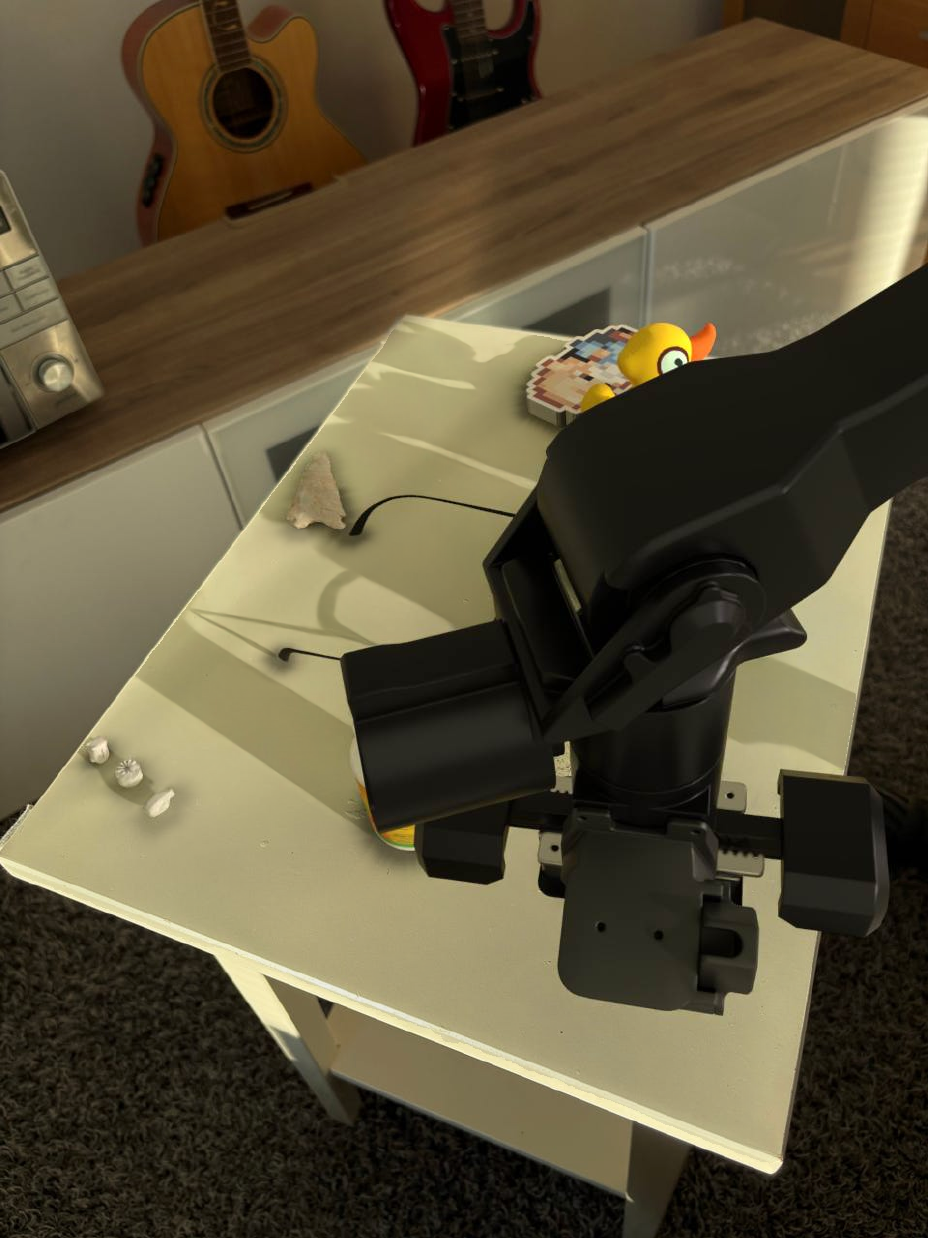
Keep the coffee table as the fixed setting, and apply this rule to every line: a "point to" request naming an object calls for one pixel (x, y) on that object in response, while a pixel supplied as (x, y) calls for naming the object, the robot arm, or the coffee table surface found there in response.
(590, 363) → the toy
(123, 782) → the set of white lumps
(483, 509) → the eyeglasses
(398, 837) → the supplement bottle
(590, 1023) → the coffee table surface
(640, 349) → the duckling
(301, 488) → the stone tool
